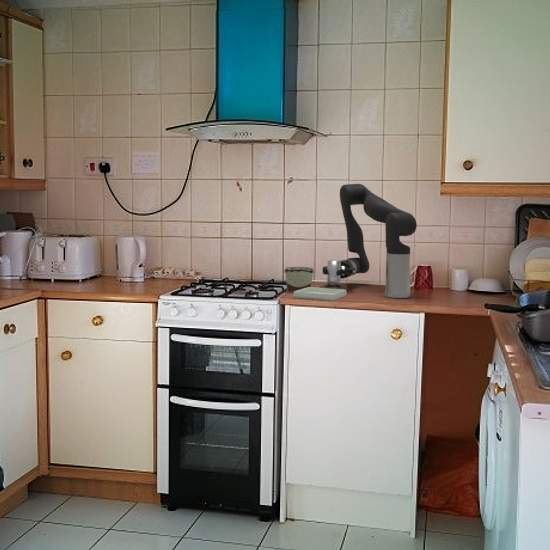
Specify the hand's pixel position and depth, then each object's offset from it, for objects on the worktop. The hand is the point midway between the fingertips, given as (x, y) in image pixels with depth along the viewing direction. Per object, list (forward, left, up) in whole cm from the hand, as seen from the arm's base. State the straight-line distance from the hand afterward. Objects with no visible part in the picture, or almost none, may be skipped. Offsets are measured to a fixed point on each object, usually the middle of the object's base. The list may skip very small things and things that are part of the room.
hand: (331, 272), depth 309 cm
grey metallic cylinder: (0, -3, -9) cm, 9 cm away
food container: (+13, +2, -9) cm, 16 cm away
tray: (0, +12, -9) cm, 15 cm away
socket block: (0, -3, -9) cm, 9 cm away
